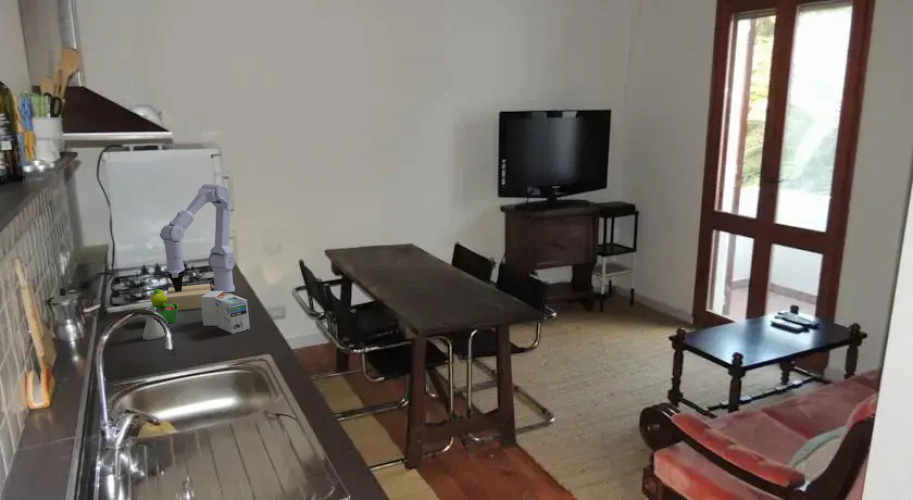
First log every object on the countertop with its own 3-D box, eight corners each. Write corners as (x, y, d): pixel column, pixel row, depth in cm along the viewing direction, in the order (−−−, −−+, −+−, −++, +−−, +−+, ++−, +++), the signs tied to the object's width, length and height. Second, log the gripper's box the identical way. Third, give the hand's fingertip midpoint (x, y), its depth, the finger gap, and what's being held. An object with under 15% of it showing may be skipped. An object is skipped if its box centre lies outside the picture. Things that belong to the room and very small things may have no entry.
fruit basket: (144, 327, 222) (140, 296, 220) (144, 320, 230) (140, 289, 228) (179, 322, 227) (176, 292, 224) (179, 315, 235) (175, 285, 232)
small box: (218, 326, 223) (216, 297, 221) (203, 326, 223) (199, 297, 221) (227, 318, 231) (224, 290, 229) (212, 318, 231) (209, 290, 229)
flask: (161, 331, 219) (157, 303, 216) (169, 336, 214) (166, 307, 211) (139, 336, 214) (135, 308, 211) (147, 342, 209) (143, 312, 206)
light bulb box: (250, 329, 220) (247, 299, 217) (232, 334, 215) (229, 303, 212) (234, 322, 227) (232, 293, 224) (216, 327, 222) (213, 297, 220)
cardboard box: (170, 301, 252) (169, 289, 251) (211, 297, 257) (210, 285, 256) (167, 311, 239) (166, 299, 238) (210, 307, 244) (209, 294, 243)
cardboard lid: (169, 289, 251) (168, 287, 251) (210, 285, 256) (209, 283, 256) (166, 299, 238) (165, 297, 238) (209, 294, 243) (209, 292, 243)
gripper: (164, 253, 248) (168, 287, 251) (161, 262, 235) (165, 297, 238) (184, 252, 250) (188, 285, 253) (182, 260, 237) (186, 295, 240)
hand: (178, 291), depth 245 cm, fingers closed, pressing on cardboard lid
